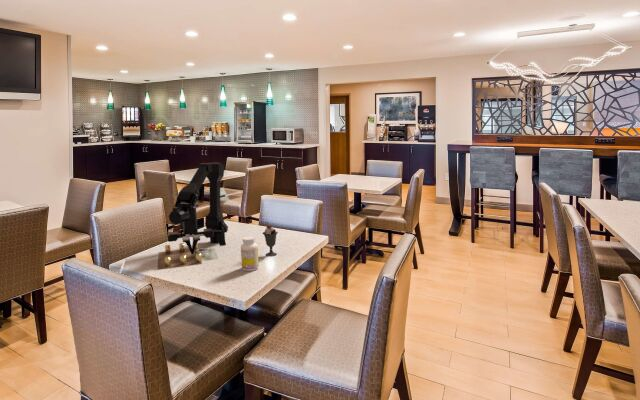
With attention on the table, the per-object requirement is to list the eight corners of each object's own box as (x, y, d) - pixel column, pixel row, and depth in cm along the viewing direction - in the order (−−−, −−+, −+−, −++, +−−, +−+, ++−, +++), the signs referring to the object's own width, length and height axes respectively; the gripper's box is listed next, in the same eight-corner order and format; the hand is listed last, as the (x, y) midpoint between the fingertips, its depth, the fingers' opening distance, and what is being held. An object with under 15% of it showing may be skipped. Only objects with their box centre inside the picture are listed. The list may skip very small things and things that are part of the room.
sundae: (263, 252, 182) (262, 220, 179) (278, 251, 182) (277, 219, 179) (263, 257, 175) (261, 223, 172) (278, 256, 176) (277, 223, 173)
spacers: (198, 248, 185) (197, 241, 184) (201, 262, 166) (201, 254, 166) (165, 252, 180) (164, 245, 179) (165, 267, 161) (164, 258, 161)
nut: (208, 252, 178) (208, 247, 178) (208, 256, 174) (208, 250, 173) (195, 254, 177) (194, 248, 176) (195, 257, 172) (194, 251, 172)
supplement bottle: (250, 264, 166) (248, 234, 164) (262, 267, 162) (260, 237, 160) (238, 269, 161) (236, 238, 158) (250, 272, 157) (248, 241, 155)
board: (213, 248, 189) (213, 245, 189) (219, 264, 167) (219, 261, 167) (158, 254, 181) (158, 252, 181) (157, 272, 159) (157, 269, 159)
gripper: (210, 213, 182) (212, 246, 185) (166, 217, 176) (169, 251, 179) (212, 218, 172) (215, 253, 175) (166, 222, 165) (169, 258, 168)
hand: (192, 253), depth 174 cm, fingers closed
